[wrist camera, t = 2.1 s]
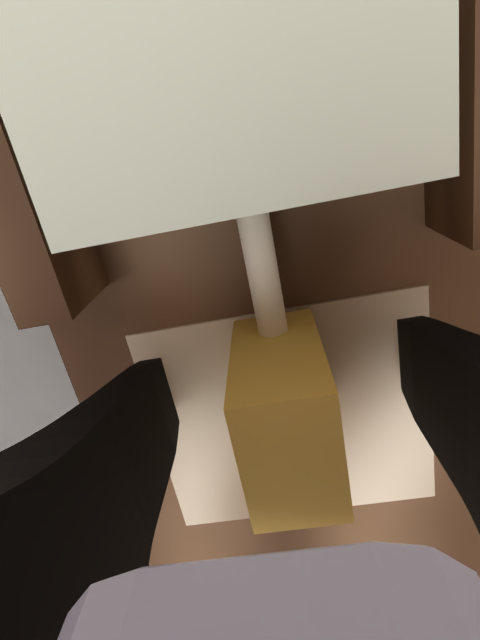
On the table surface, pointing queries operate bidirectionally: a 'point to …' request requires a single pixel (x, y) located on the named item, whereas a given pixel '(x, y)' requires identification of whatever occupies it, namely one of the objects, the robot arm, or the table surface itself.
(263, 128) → the block
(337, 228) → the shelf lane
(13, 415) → the table surface
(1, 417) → the table surface
